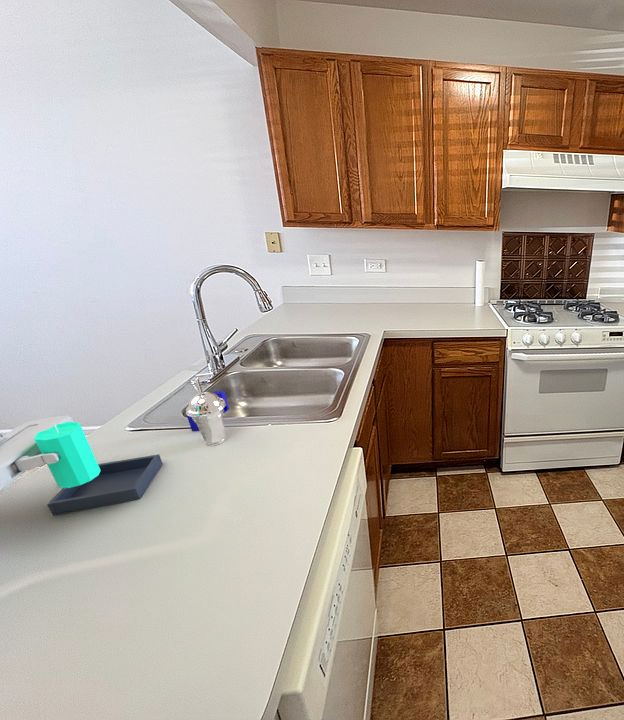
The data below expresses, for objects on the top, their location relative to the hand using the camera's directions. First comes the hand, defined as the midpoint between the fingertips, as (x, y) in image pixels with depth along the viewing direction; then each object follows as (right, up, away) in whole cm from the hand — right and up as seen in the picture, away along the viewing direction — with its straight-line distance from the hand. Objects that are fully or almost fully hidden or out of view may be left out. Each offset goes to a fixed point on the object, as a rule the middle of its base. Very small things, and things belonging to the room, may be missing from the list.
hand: (70, 446), depth 73 cm
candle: (-1, -7, +3) cm, 7 cm away
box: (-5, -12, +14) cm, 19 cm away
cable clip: (-2, -1, +41) cm, 41 cm away
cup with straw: (+6, -5, +31) cm, 32 cm away
